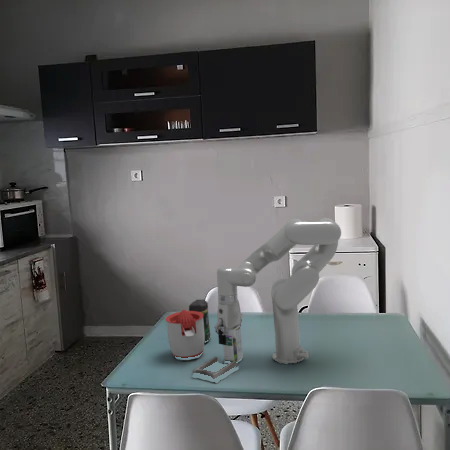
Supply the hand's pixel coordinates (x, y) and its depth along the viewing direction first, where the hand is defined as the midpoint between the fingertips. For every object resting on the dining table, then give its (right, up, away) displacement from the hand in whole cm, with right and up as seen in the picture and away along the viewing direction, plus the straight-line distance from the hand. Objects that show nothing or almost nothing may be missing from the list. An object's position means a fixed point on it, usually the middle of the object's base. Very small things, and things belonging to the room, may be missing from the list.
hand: (229, 340), depth 201 cm
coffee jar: (-12, -7, +26) cm, 30 cm away
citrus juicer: (-17, -9, +10) cm, 22 cm away
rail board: (-6, -11, -8) cm, 15 cm away
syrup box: (+2, -9, +1) cm, 9 cm away
